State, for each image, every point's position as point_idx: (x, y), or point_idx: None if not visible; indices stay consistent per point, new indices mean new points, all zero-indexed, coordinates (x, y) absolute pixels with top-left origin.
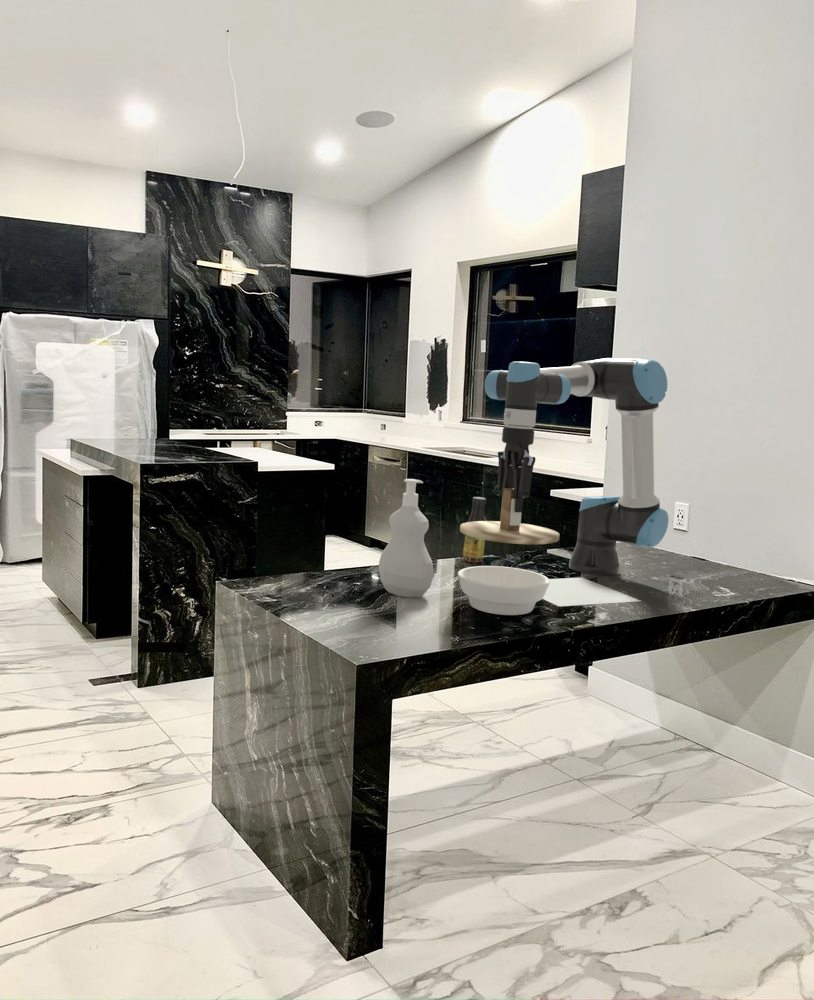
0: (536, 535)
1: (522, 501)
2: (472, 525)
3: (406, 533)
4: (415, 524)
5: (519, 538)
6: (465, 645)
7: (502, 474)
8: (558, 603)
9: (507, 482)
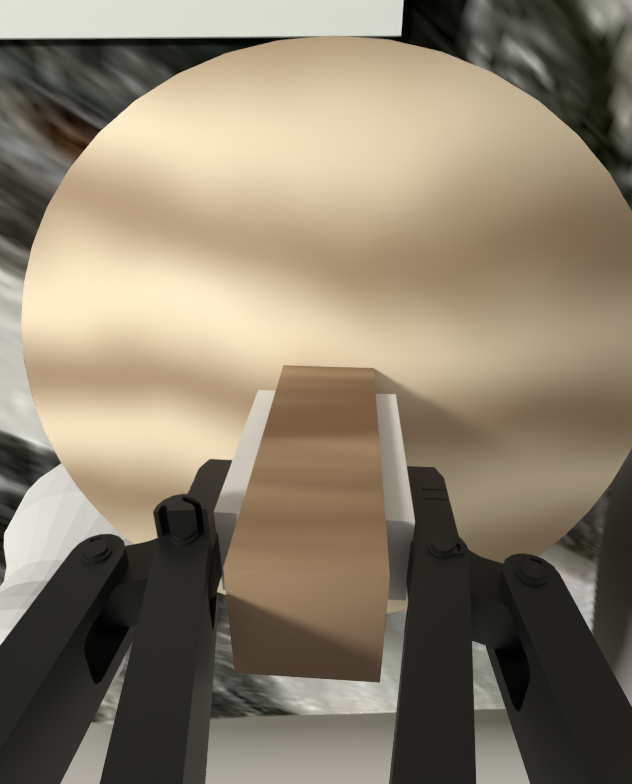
0: (539, 345)
1: (456, 534)
2: None
3: None
4: (117, 676)
5: (586, 498)
6: (593, 531)
7: (46, 781)
8: (361, 5)
9: (207, 698)
